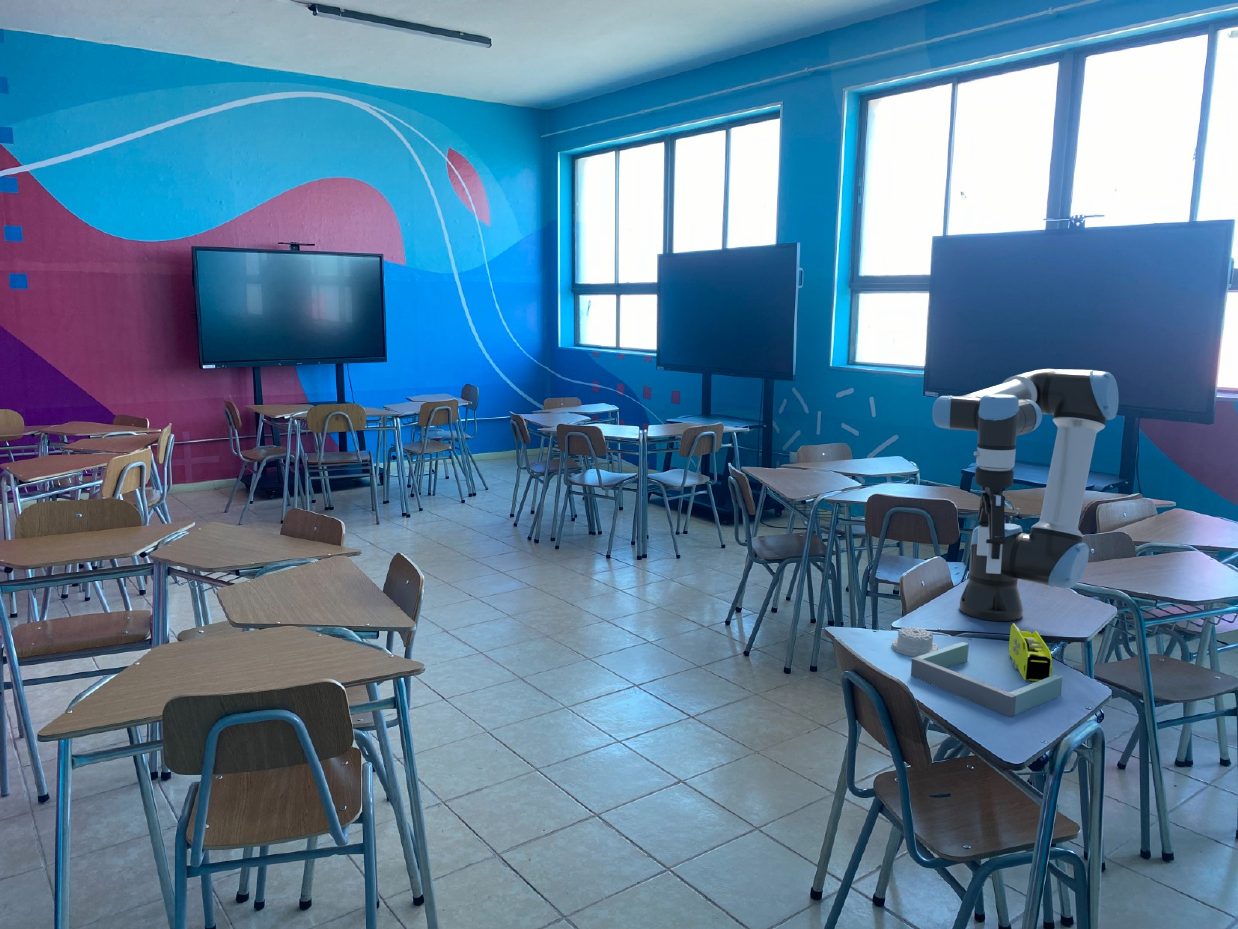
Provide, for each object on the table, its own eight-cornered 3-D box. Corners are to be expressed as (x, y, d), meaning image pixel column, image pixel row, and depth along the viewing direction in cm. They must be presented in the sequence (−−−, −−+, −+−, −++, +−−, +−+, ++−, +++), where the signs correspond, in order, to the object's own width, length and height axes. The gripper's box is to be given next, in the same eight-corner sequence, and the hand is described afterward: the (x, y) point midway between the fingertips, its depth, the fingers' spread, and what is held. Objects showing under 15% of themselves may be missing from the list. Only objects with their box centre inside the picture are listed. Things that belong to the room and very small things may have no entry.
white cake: (942, 659, 195) (931, 643, 205) (943, 640, 194) (932, 625, 204) (897, 657, 196) (888, 641, 206) (898, 639, 195) (889, 623, 205)
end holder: (961, 658, 194) (962, 641, 194) (1060, 695, 176) (1062, 677, 175) (910, 676, 185) (911, 658, 184) (1010, 717, 166) (1011, 697, 165)
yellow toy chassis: (1006, 655, 197) (1008, 620, 196) (1033, 657, 196) (1036, 622, 194) (1021, 683, 182) (1025, 645, 180) (1051, 686, 180) (1054, 648, 179)
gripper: (967, 457, 197) (962, 547, 201) (984, 477, 173) (978, 579, 177) (1003, 458, 195) (997, 549, 199) (1025, 479, 171) (1017, 582, 175)
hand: (988, 564), depth 188 cm, fingers open, 13 cm apart
